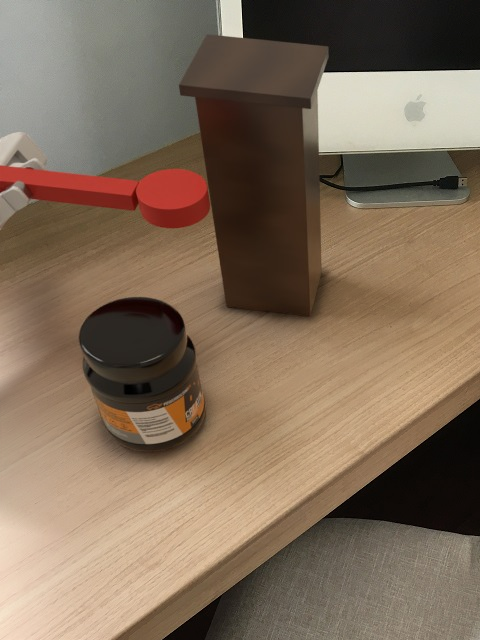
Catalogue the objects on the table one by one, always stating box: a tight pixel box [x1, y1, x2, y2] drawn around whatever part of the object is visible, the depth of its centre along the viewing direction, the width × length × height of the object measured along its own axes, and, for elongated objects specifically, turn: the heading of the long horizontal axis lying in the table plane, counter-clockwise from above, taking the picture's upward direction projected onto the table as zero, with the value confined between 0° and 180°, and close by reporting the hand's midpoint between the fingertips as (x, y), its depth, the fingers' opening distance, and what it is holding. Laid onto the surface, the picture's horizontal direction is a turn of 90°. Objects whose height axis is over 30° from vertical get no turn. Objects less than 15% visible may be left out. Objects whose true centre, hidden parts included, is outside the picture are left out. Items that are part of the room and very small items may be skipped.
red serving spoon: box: [0, 165, 211, 229], centre depth 73 cm, size 22×6×2 cm, turn 83°
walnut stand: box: [178, 33, 330, 317], centre depth 83 cm, size 12×10×26 cm
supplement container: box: [78, 296, 207, 452], centre depth 77 cm, size 10×10×12 cm
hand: (33, 179), depth 73 cm, fingers closed on red serving spoon, 2 cm apart
